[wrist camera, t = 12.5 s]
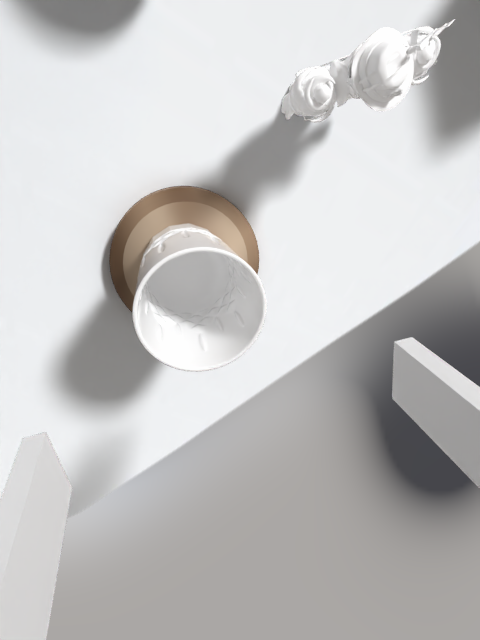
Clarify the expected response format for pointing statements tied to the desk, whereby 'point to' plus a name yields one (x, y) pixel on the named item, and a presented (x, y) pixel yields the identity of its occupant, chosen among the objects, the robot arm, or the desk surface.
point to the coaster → (175, 210)
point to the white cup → (196, 300)
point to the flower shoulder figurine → (366, 74)
